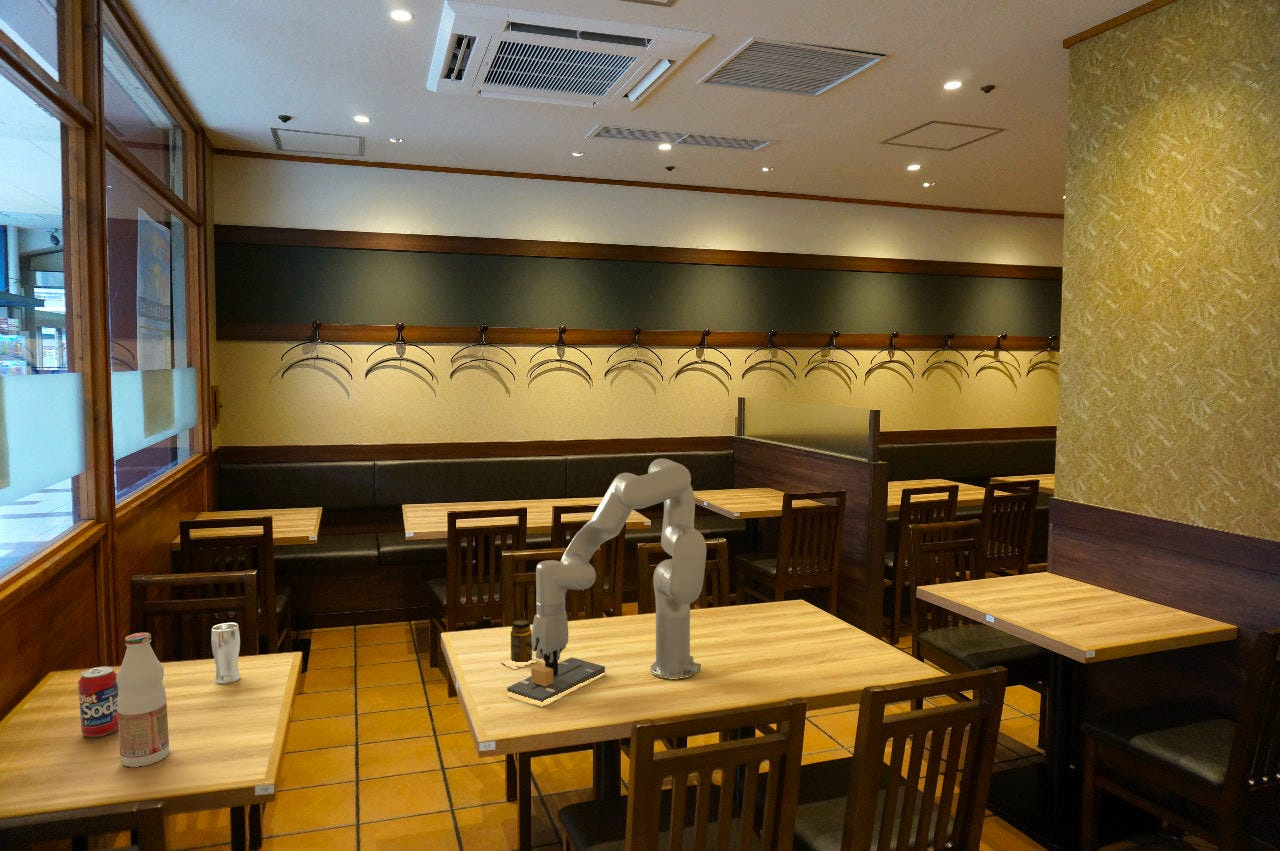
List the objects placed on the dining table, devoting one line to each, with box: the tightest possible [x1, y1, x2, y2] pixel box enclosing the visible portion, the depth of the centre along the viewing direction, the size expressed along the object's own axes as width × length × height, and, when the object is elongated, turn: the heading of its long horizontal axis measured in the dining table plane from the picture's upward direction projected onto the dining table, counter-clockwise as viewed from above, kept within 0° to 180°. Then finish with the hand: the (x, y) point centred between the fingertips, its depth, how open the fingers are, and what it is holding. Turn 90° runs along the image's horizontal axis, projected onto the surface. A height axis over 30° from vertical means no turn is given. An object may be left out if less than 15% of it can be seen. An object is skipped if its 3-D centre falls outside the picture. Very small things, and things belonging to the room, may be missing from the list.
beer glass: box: [211, 622, 241, 685], centre depth 231 cm, size 7×7×15 cm
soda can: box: [77, 665, 119, 738], centre depth 200 cm, size 8×8×15 cm
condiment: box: [510, 619, 533, 662], centre depth 243 cm, size 7×8×12 cm
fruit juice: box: [116, 632, 170, 768], centre depth 186 cm, size 9×9×28 cm
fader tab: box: [530, 664, 553, 687], centre depth 221 cm, size 3×5×4 cm, turn 55°
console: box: [506, 656, 606, 702], centre depth 227 cm, size 26×12×3 cm, turn 145°
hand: (551, 674), depth 225 cm, fingers closed
